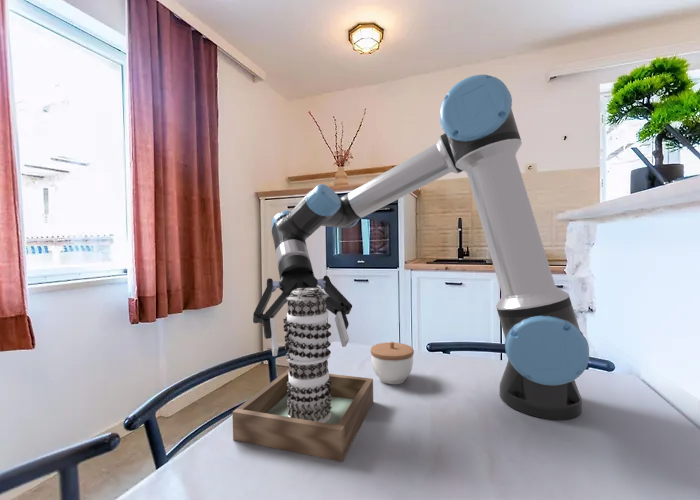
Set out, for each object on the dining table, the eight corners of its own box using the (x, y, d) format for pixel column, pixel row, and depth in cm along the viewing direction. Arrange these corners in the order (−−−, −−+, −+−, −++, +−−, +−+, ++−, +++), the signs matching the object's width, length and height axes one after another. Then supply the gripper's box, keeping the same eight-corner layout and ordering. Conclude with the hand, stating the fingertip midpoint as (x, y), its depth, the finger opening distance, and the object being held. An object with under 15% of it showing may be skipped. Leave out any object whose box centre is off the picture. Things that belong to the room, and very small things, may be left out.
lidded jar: (413, 390, 76) (413, 350, 76) (368, 386, 79) (367, 347, 78) (414, 372, 87) (413, 337, 87) (373, 369, 89) (373, 335, 89)
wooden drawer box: (373, 401, 71) (372, 378, 71) (342, 461, 52) (341, 430, 52) (288, 390, 77) (288, 369, 77) (233, 439, 58) (232, 411, 58)
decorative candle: (276, 417, 64) (272, 290, 64) (313, 400, 71) (310, 285, 70) (305, 435, 58) (301, 294, 57) (342, 415, 64) (339, 288, 64)
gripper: (341, 272, 83) (366, 349, 69) (237, 277, 74) (242, 366, 60) (348, 251, 78) (377, 329, 64) (237, 254, 69) (243, 346, 55)
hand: (312, 348), depth 62 cm, fingers open, 13 cm apart
